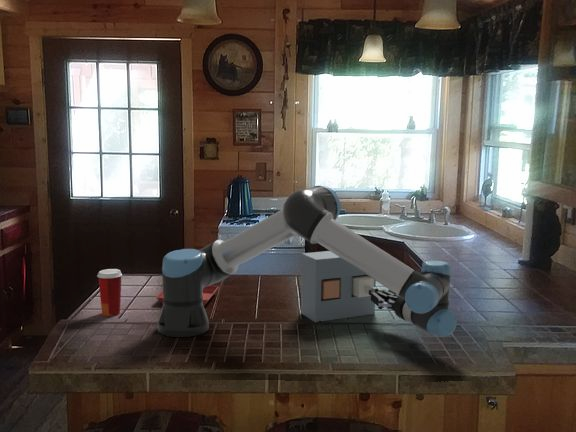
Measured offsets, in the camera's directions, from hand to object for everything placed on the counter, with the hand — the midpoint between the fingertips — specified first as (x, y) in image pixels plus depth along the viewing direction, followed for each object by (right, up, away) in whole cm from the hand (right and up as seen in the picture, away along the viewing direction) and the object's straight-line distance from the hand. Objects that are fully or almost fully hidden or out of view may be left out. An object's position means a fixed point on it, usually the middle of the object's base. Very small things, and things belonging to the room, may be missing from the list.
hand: (367, 288), depth 199 cm
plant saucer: (-60, -7, +21) cm, 64 cm away
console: (-9, -9, +6) cm, 14 cm away
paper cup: (-82, -9, +4) cm, 83 cm away
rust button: (-13, -2, 0) cm, 13 cm away
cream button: (-1, -2, +3) cm, 4 cm away
